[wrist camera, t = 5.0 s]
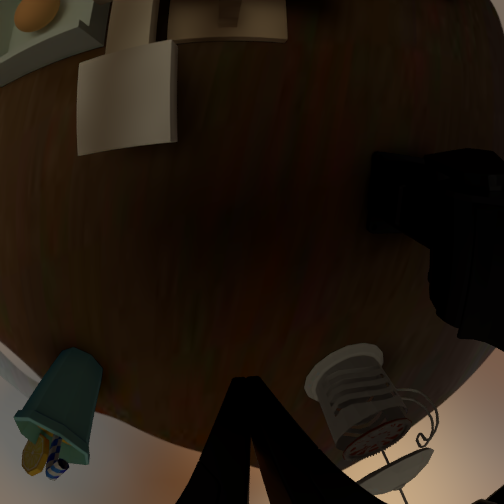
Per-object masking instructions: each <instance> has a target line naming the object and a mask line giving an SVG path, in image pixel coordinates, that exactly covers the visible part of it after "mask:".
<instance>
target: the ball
mask: <svg viewBox="0 0 504 504" xmlns="http://www.w3.org/2000/svg"><path fill="white" fill-rule="evenodd" d="M59 7H60V0H22V1H21V2H20V4H19V5H18V7H17V9H16V11H15V15H14V22H15V25H16V27H17V28H18V29H19V30H20V31H23V32H34V31H37V30H40V29H42V28H43V27H45V26H46V25H47V24H49V23H50V22H51V21H52V20H53V18H54V17H55V16H56V14H57V12H58V10H59Z"/></svg>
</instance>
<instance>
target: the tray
mask: <svg viewBox="0 0 504 504" xmlns="http://www.w3.org/2000/svg"><path fill="white" fill-rule="evenodd" d="M21 1H22V0H0V87H3V86H4V85H6V84H8V83H10V82H12V81H14V80H16V79H18V78H20V77H22V76H24V75H26V74H28V73H30V72H32V71H35V70H37V69H39V68H41V67H44V66H46V65H49V64H51V63H54V62H56V61H59V60H61V59H64V58H67V57H70V56H73V55H76V54H79V53H82V52H85V51H88V50H92V49H95V48H98V47H102V46H104V41H105V33H106V26H107V20H108V14H109V8H110V3H111V2H108V3H105V4H103V5H99V4H97V3H96V2H94V1H93V0H60V7H59V10H58V12H57V14H56V16H55V17H54V18H53V20H52V21H51V22H50V23H49V24H47V25H46V26H45V27H43V28H42V29H40V30H37V31H34V32H23V31H20V30H19V29H18V28H17V27H16V25H15V22H14V15H15V11H16V9H17V7H18V5H19V4H20V2H21Z"/></svg>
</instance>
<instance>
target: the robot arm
mask: <svg viewBox="0 0 504 504" xmlns="http://www.w3.org/2000/svg"><path fill="white" fill-rule="evenodd" d="M378 156H380V160H379V161H378ZM367 209H368V218H367V230H368V231H369V232H371V233H373V234H374V233H404V234H406V235H407V236H409V237H411V238H412V239H414V240H416V241H417V242H419V243H420V244H422V245H424V246H425V247H427V248H429V249H430V268H429V272H428V281H429V283H430V284H429V294H430V300H431V301H432V303H433V305H434V307H435V308H436V314H437V316H438V317H440V318H441V319H442V320H443V321H444V322H446V323H448V324H450V325H452V326H453V327H456V328H459V330H458V334H457V337H458V338H459V339H474V340H478V341H482V342H486V343H488V344H490V345H492V346H494V347H496V348H498V349H500V350H502V351H503V352H504V161H503V160H502V159H501V158H500V157H499V156H498V155H497V154H496V153H495V152H493V151H489V150H481V149H471V148H465V149H458V150H452V151H446V152H440V153H435V154H429V155H424V159H423V158H418V157H412V156H406V155H400V154H393V153H386V152H379V151H377V152H375V153H374V154H373V156H372V172H371V178H370V184H369V196H368V207H367ZM373 225H374V228H373V229H372V226H373ZM251 438H252V443H253V446H254V450H255V454H256V457H257V461H258V464H259V468H260V471H261V475H262V478H263V481H264V484H265V488H266V491H267V495H268V498H269V501H270V504H387V503H385V502H383V501H381V500H380V499H378V498H377V497H375V496H374V495H372V494H371V493H370V492H368V491H367V490H365V489H364V488H363V487H361V486H360V485H359V484H357V483H356V482H354V481H353V480H352V479H351V478H349V477H348V476H347V475H346V474H345V473H343V472H342V471H341V470H340V469H339V468H338V467H337V466H336V465H335V464H334V463H333V462H332V461H331V460H330V459H329V458H328V457H327V456H326V455H325V454H324V453H323V452H322V451H321V450H320V449H318V447H317V445H316V444H315V443H314V442H313V441H312V440H311V439H310V437H309V436H308V435H307V434H306V433H305V432H304V431H303V429H302V428H301V427H300V426H299V425H298V424H297V422H296V421H295V420H294V419H293V418H292V416H291V415H290V414H289V413H288V412H287V410H286V409H285V408H284V407H283V406H282V404H281V403H280V402H279V401H278V399H277V398H276V397H275V396H274V394H273V393H272V392H271V391H270V389H269V388H268V387H267V386H266V384H265V383H264V382H263V380H262V379H261V378H260V377H259V376H250V377H247V378H245V377H235V378H233V379H232V381H231V383H230V386H229V388H228V391H227V393H226V396H225V398H224V401H223V403H222V406H221V408H220V411H219V413H218V416H217V418H216V420H215V423H214V425H213V428H212V430H211V433H210V435H209V437H208V440H207V442H206V444H205V447H204V449H203V452H202V454H201V457H200V459H199V462H198V463H197V465H196V468H195V470H194V472H193V474H192V476H191V478H190V480H189V482H188V484H187V486H186V488H185V489H184V491H183V493H182V494H181V496H180V498H179V499H178V501H177V502H176V503H175V504H249V479H250V445H251ZM472 504H504V485H503V486H502V487H501V488H499V489H498V490H497V491H495V492H494V493H493V494H492V495H490V496H489V497H488V498H487V499H486V500H484V499H480V500H477V501H475V502H474V503H472Z"/></svg>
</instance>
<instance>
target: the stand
mask: <svg viewBox="0 0 504 504" xmlns="http://www.w3.org/2000/svg"><path fill="white" fill-rule="evenodd" d="M167 40H173V42H174V43H175V44H179V43H190V42H204V41H265V42H279V43H285V42H286V41H287V17H286V0H170V9H169V20H168V32H167Z"/></svg>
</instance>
